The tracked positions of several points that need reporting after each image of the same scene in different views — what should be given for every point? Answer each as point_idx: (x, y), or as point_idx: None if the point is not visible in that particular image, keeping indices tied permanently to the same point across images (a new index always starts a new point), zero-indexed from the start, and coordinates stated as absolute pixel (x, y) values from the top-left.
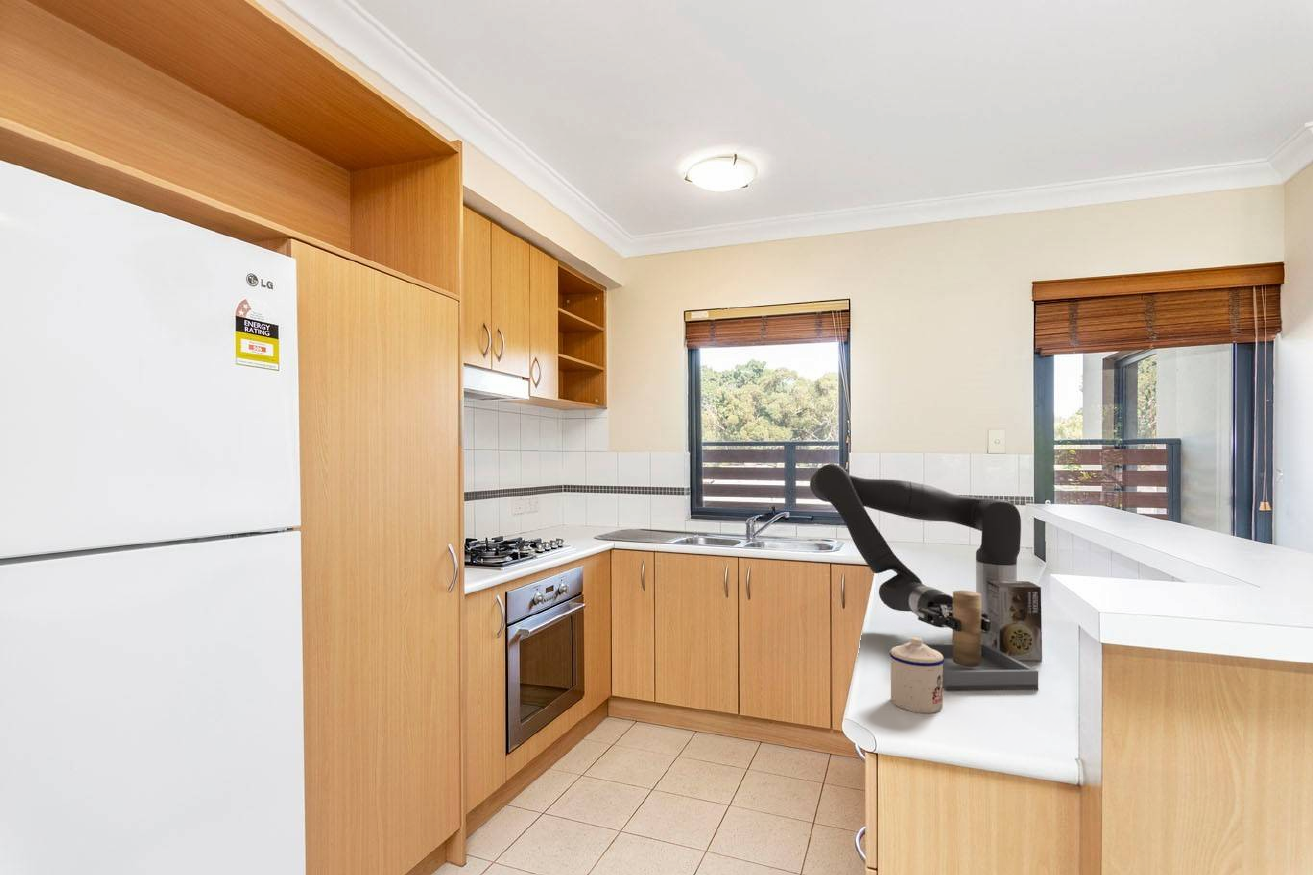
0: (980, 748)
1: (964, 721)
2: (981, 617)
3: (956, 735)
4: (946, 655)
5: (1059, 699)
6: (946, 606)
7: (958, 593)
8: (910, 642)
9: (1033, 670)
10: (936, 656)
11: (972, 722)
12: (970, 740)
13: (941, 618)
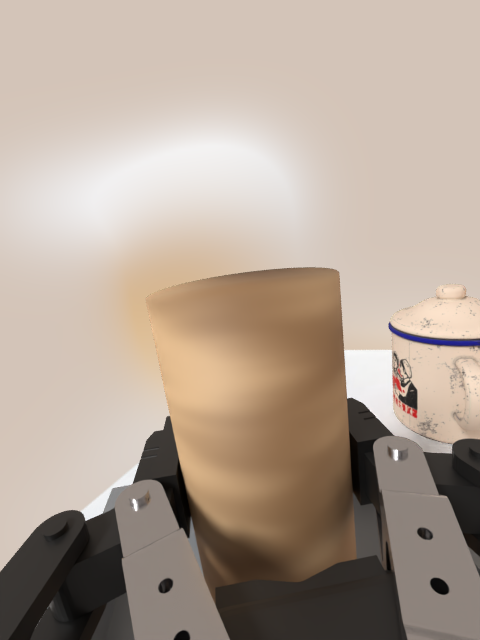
0: (346, 354)
1: (357, 387)
2: (165, 451)
3: (371, 364)
4: None
5: (129, 483)
6: (412, 633)
7: (302, 274)
8: (469, 302)
9: (121, 491)
10: (402, 309)
11: (346, 387)
12: (355, 361)
13: (432, 460)
